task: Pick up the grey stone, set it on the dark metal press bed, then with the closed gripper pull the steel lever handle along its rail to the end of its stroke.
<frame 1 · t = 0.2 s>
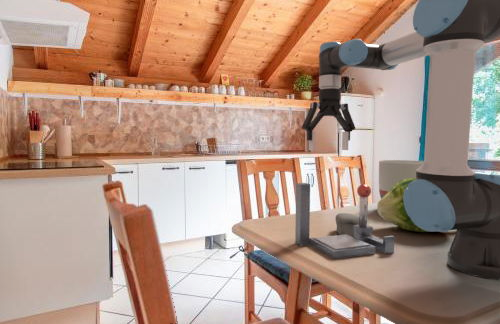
hand: (328, 150, 125), 27 cm above the table, fingers open, 13 cm apart
stone: (347, 234, 118), on the table
lettuce: (412, 231, 122), on the table
press: (340, 249, 101), on the table
planter: (402, 211, 155), on the table
lever: (363, 208, 108), point 10 cm above the table, slide at 0.0 cm
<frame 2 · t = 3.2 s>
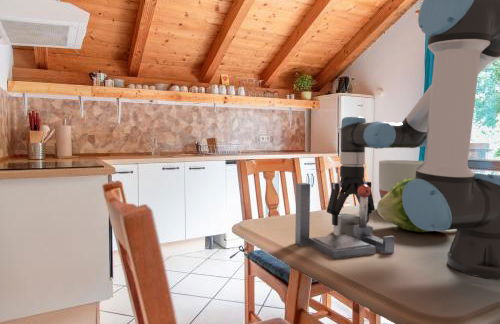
hand: (350, 233, 116), 0 cm above the table, fingers closed on stone, 9 cm apart
stone: (348, 234, 117), on the table, touching gripper
everything else where it was.
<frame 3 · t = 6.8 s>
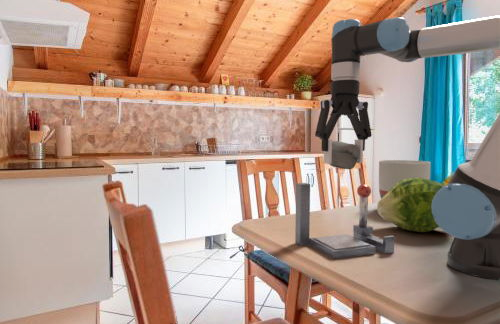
hand: (343, 163, 98), 24 cm above the table, fingers closed on stone, 9 cm apart
stone: (340, 165, 99), point 24 cm above the table, touching gripper
everything else where it was.
when the fingers open (4 cm above the table, at t = 9.6 s): stone stays where it is, resting on press.
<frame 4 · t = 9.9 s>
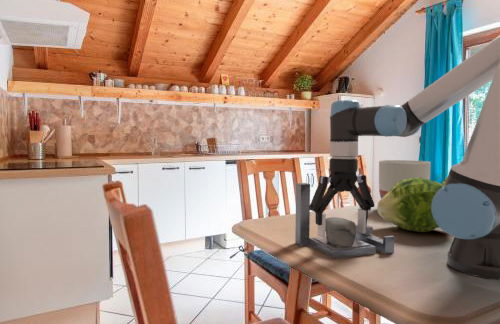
hand: (341, 234, 100), 5 cm above the table, fingers open, 12 cm apart
stone: (339, 242, 101), point 2 cm above the table, touching press
everything else where it was.
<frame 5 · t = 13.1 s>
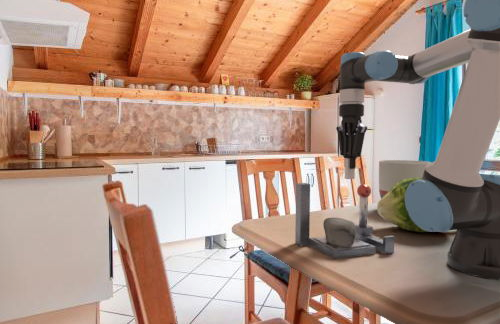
hand: (349, 178, 114), 18 cm above the table, fingers closed
nothing on the table moved.
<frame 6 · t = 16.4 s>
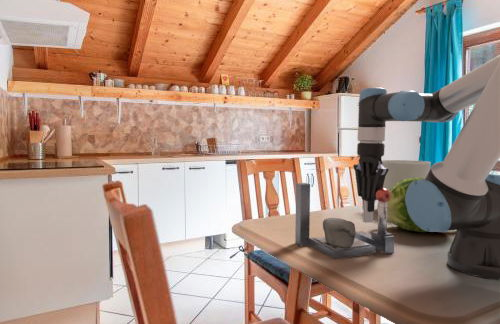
hand: (367, 221, 106), 7 cm above the table, fingers closed
lever: (382, 214, 100), point 10 cm above the table, slide at 8.3 cm, touching hand
everything else where it was.
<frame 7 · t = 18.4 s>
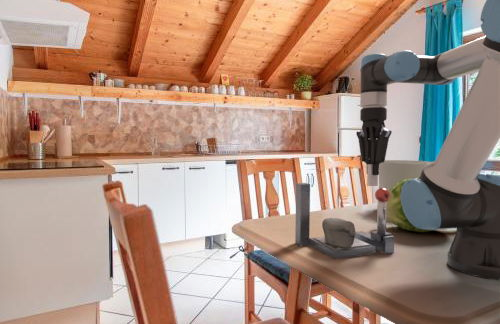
hand: (372, 185, 109), 17 cm above the table, fingers closed
lever: (381, 214, 100), point 10 cm above the table, slide at 8.0 cm
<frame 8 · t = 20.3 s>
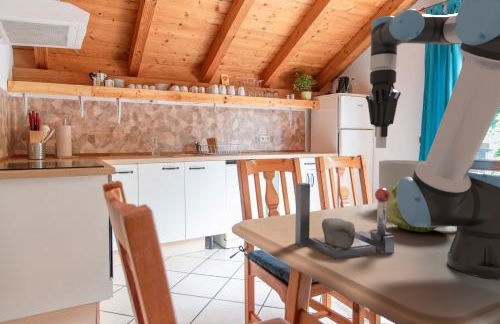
hand: (380, 147, 111), 28 cm above the table, fingers closed
at the end: stone inside the target area on the press (1.9 cm from its centre), point 2.1 cm above the press's base; lever slide at 8.0 cm; the gripper is holding nothing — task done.
